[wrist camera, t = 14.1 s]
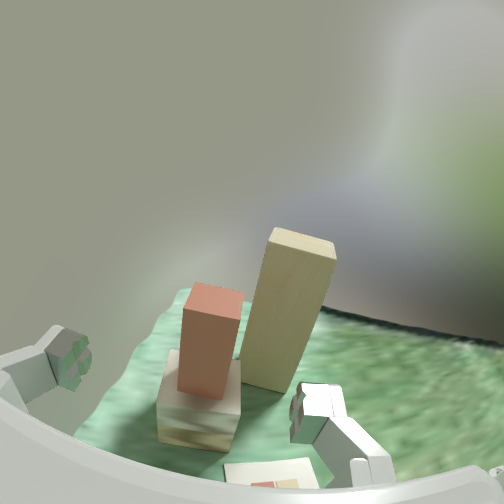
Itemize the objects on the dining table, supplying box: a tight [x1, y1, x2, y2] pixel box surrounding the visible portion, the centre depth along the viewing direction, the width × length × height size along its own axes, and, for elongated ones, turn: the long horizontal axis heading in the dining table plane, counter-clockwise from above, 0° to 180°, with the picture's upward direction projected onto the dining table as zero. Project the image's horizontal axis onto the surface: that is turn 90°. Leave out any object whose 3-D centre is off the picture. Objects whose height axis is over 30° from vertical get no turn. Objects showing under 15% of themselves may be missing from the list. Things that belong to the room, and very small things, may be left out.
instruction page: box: [224, 457, 320, 489], centre depth 24 cm, size 10×8×1 cm
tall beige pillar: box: [238, 227, 337, 393], centre depth 39 cm, size 8×7×21 cm
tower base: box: [156, 349, 241, 453], centre depth 30 cm, size 8×8×8 cm
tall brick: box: [177, 282, 244, 400], centre depth 27 cm, size 4×4×10 cm
